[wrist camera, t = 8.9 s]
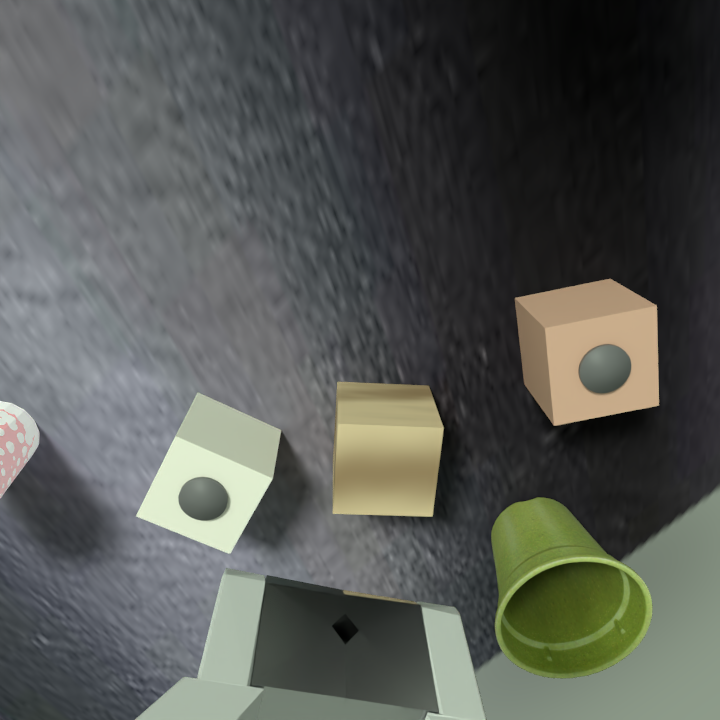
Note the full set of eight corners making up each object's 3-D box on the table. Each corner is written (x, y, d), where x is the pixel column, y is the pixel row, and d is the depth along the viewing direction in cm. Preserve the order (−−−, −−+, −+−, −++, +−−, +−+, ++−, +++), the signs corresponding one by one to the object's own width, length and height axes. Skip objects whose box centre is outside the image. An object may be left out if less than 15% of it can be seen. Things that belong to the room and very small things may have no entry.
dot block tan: (514, 297, 39) (546, 330, 33) (609, 278, 38) (659, 307, 33) (524, 383, 41) (555, 428, 35) (614, 366, 41) (661, 407, 35)
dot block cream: (197, 391, 40) (174, 438, 34) (281, 429, 41) (272, 481, 36) (162, 463, 42) (134, 519, 36) (243, 497, 43) (229, 557, 37)
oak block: (337, 381, 40) (337, 423, 35) (428, 385, 41) (443, 427, 35) (332, 461, 42) (332, 513, 37) (419, 464, 43) (432, 516, 37)
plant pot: (549, 599, 47) (593, 698, 39) (443, 556, 46) (467, 650, 37) (621, 507, 45) (684, 592, 36) (511, 456, 43) (553, 534, 35)
